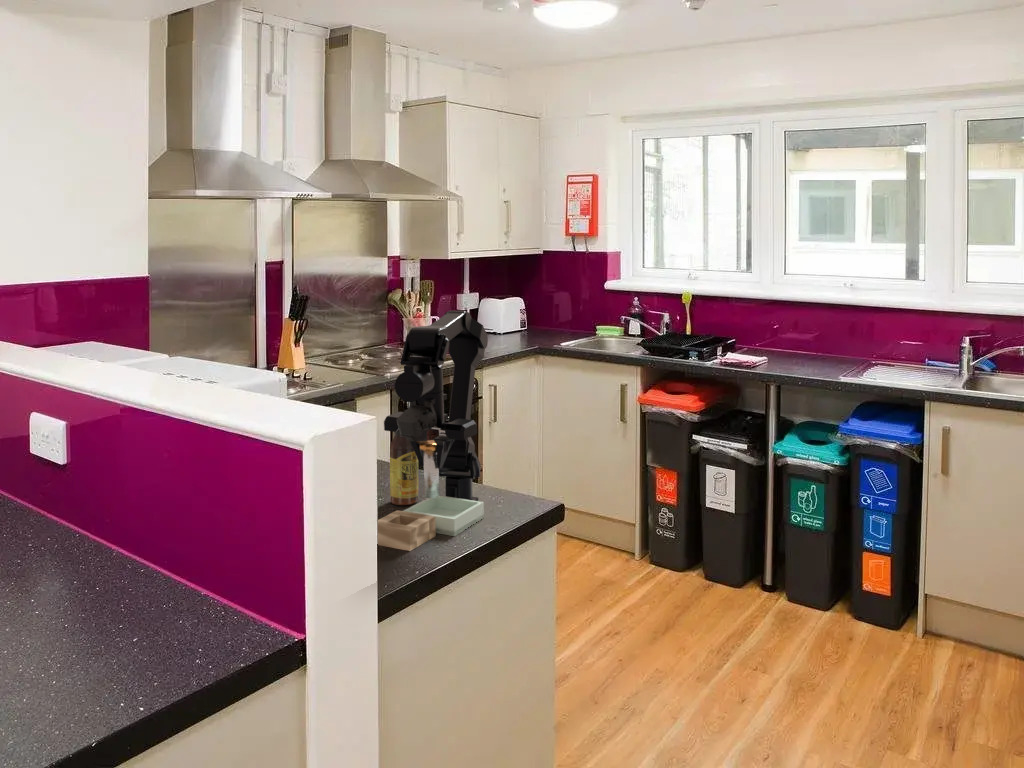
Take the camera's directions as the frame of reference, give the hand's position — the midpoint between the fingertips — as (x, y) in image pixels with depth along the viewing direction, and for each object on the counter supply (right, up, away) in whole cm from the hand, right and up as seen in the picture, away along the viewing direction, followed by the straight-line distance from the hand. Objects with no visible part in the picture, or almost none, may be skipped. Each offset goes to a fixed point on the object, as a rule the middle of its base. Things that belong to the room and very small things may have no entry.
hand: (431, 467), depth 178 cm
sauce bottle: (-8, -10, +19) cm, 22 cm away
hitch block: (-5, -14, -5) cm, 15 cm away
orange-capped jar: (0, -6, +1) cm, 6 cm away
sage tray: (+2, -12, +5) cm, 13 cm away
